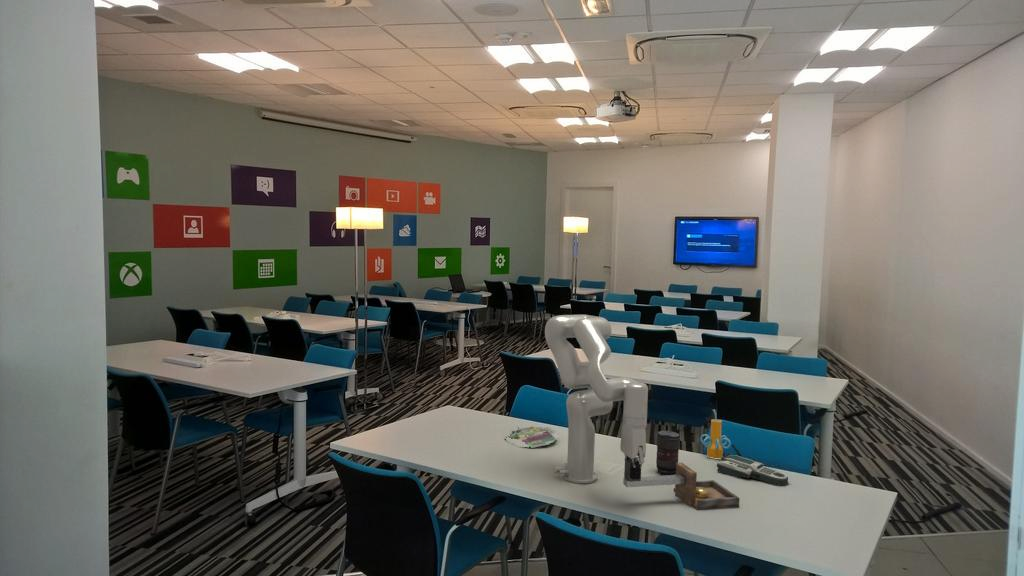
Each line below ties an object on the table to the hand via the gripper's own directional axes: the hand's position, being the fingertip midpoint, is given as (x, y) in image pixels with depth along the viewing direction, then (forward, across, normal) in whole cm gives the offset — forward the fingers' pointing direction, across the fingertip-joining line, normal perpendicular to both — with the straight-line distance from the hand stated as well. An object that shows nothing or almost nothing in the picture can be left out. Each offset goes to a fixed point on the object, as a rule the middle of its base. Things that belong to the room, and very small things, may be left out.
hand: (632, 475), depth 205 cm
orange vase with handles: (+9, -38, +53) cm, 67 cm away
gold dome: (+6, 0, +25) cm, 25 cm away
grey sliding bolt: (+3, 0, +9) cm, 9 cm away
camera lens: (+9, -25, +25) cm, 37 cm away
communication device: (+10, -16, +56) cm, 59 cm away
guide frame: (+9, 0, +26) cm, 28 cm away
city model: (+10, -71, -15) cm, 73 cm away
